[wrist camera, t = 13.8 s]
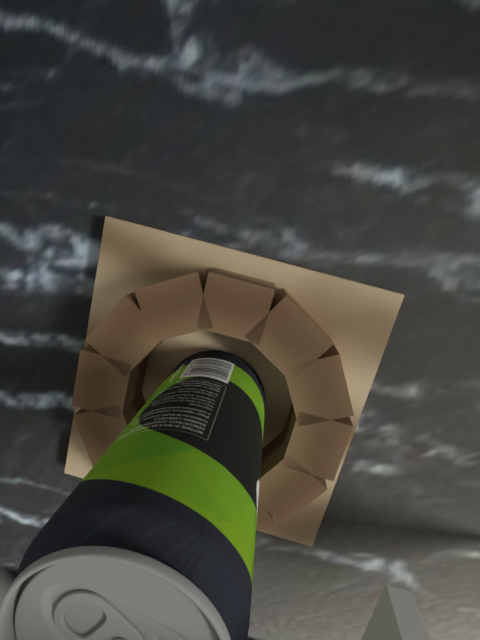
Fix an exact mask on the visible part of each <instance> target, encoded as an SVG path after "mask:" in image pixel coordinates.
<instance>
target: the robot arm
mask: <svg viewBox="0 0 480 640" xmlns="http://www.w3.org/2000/svg"><path fill="white" fill-rule="evenodd" d="M361 640H429V637H428V634H427V631H426V629H425V626H424V623H423V620H422V618H421V615H420V612H419V609H418V607H417V604H416V601H415V598H414V596H413V593H412V592H409V591H406V590H403V589H400V588H397V587H394V586H390V585H387V584H386V586H385V588H384V590H383V592H382V595H381V597H380V599H379V601H378V603H377V606H376V608H375V610H374V612H373V615H372V617H371V619H370V621H369V623H368V626H367V628H366V630H365V632H364V635H363V637H362V639H361Z"/></svg>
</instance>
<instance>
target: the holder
mask: <svg viewBox="0 0 480 640" xmlns="http://www.w3.org/2000/svg"><path fill="white" fill-rule="evenodd" d="M403 298H404V295H403V294H401V293H398V292H394V291H390V290H386V289H383V288H379V287H375V286H371V285H368V284H364V283H360V282H356V281H352V280H349V279H345V278H341V277H337V276H333V275H330V274H326V273H322V272H318V271H315V270H311V269H307V268H303V267H299V266H296V265H292V264H288V263H284V262H280V261H277V260H273V259H269V258H265V257H262V256H258V255H254V254H250V253H246V252H243V251H239V250H235V249H231V248H227V247H224V246H220V245H216V244H212V243H209V242H205V241H201V240H197V239H193V238H190V237H186V236H182V235H178V234H174V233H171V232H167V231H163V230H159V229H156V228H152V227H148V226H144V225H140V224H137V223H133V222H129V221H125V220H121V219H118V218H114V217H108V216H105V222H104V228H103V234H102V241H101V247H100V253H99V259H98V266H97V272H96V278H95V284H94V291H93V297H92V303H91V309H90V316H89V322H88V328H87V334H86V339H85V347H84V348H82V349H80V355H79V361H78V368H77V374H76V380H75V387H74V393H73V399H72V406H75V409H74V415H73V422H72V428H71V435H70V441H69V447H68V453H67V460H66V466H65V472H64V473H66V474H70V475H73V476H77V477H80V478H84V477H85V476H86V475H87V474H88V472H89V471H90V470H91V469H92V468H93V466H94V465H95V464H96V463H97V462H98V460H99V459H100V458H101V457H102V455H103V454H104V453H105V452H106V451H107V449H108V448H109V447H110V446H111V445H112V443H113V442H114V441H115V440H116V438H117V437H118V436H119V435H120V434H121V432H122V431H123V430H124V429H125V428H126V426H127V425H128V424H129V423H130V422H131V420H132V419H133V418H134V417H135V415H136V414H137V413H138V412H139V411H140V409H141V408H142V407H143V406H144V405H145V403H146V402H147V401H148V400H149V399H150V397H151V396H152V395H153V394H154V392H155V391H156V390H157V389H158V388H159V386H160V385H161V384H162V383H163V382H164V380H165V379H166V378H167V377H168V375H169V374H170V373H171V372H172V371H173V369H174V368H175V367H176V366H177V365H178V364H179V363H180V362H181V361H182V360H184V359H185V358H187V357H188V356H190V355H193V354H195V353H198V352H202V351H209V350H217V351H224V352H228V353H231V354H233V355H236V356H238V357H239V358H241V359H243V360H244V361H245V362H247V363H248V364H249V365H250V366H251V367H252V368H253V369H254V370H255V372H256V373H257V374H258V376H259V378H260V380H261V382H262V384H263V387H264V391H265V400H266V401H265V416H264V430H263V444H262V457H261V471H260V484H259V498H258V512H257V525H256V531H260V532H263V533H267V534H270V535H273V536H277V537H280V538H284V539H287V540H290V541H294V542H297V543H300V544H304V545H307V546H310V547H312V546H313V543H314V541H315V538H316V535H317V532H318V530H319V527H320V524H321V522H322V519H323V516H324V513H325V511H326V508H327V505H328V502H329V500H330V497H331V494H332V492H333V489H334V486H335V483H336V481H337V478H338V475H339V472H340V470H341V467H342V464H343V462H344V459H345V456H346V453H347V451H348V448H349V445H350V443H351V440H352V437H353V434H354V432H355V429H356V426H357V423H358V421H359V418H360V415H361V413H362V410H363V407H364V404H365V402H366V399H367V396H368V393H369V391H370V388H371V385H372V383H373V380H374V377H375V374H376V372H377V369H378V366H379V363H380V361H381V358H382V355H383V353H384V350H385V347H386V344H387V342H388V339H389V336H390V333H391V331H392V328H393V325H394V323H395V320H396V317H397V314H398V312H399V309H400V306H401V304H402V301H403Z"/></svg>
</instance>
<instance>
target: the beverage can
mask: <svg viewBox="0 0 480 640" xmlns="http://www.w3.org/2000/svg"><path fill="white" fill-rule="evenodd" d="M265 401H266V400H265V391H264V387H263V384H262V382H261V380H260V378H259V376H258V374H257V373H256V372H255V370H254V369H253V368H252V367H251V366H250V365H249V364H248V363H247V362H245V361H244V360H243V359H241V358H239V357H238V356H236V355H233V354H231V353H228V352H224V351H217V350H209V351H202V352H198V353H195V354H193V355H190V356H188V357H187V358H185V359H184V360H182V361H181V362H180V363H179V364H178V365H177V366H176V367H175V368H174V369H173V371H172V372H171V373H170V374H169V375H168V377H167V378H166V379H165V380H164V382H163V383H162V384H161V385H160V386H159V388H158V389H157V390H156V391H155V392H154V394H153V395H152V396H151V397H150V399H149V400H148V401H147V402H146V403H145V405H144V406H143V407H142V408H141V409H140V411H139V412H138V413H137V414H136V415H135V417H134V418H133V419H132V420H131V422H130V423H129V424H128V425H127V426H126V428H125V429H124V430H123V431H122V432H121V434H120V435H119V436H118V437H117V438H116V440H115V441H114V442H113V443H112V445H111V446H110V447H109V448H108V449H107V451H106V452H105V453H104V454H103V455H102V457H101V458H100V459H99V460H98V462H97V463H96V464H95V465H94V466H93V468H92V469H91V470H90V471H89V472H88V474H87V475H86V476H85V477H84V478H83V480H82V481H81V482H80V483H79V485H78V486H77V487H76V488H75V489H74V491H73V492H72V493H71V494H70V495H69V497H68V498H67V499H66V500H65V501H64V503H63V504H62V505H61V506H60V508H59V509H58V510H57V511H56V512H55V514H54V515H53V516H52V517H51V518H50V520H49V521H48V522H47V523H46V525H45V526H44V527H43V528H42V529H41V531H40V532H39V533H38V534H37V536H36V537H35V538H34V539H33V541H32V542H31V544H30V546H29V547H28V549H27V551H26V553H25V554H24V557H23V559H22V561H21V564H20V566H19V569H18V573H17V576H16V579H15V581H14V582H13V583H12V584H11V585H10V587H9V588H8V590H7V591H6V593H5V594H4V596H3V598H2V600H1V603H0V640H246V639H247V635H248V629H249V620H250V607H251V593H252V579H253V566H254V552H255V539H256V525H257V512H258V498H259V484H260V471H261V457H262V444H263V430H264V416H265Z"/></svg>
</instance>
